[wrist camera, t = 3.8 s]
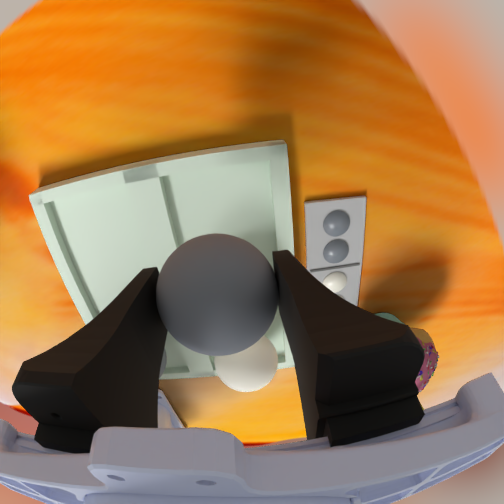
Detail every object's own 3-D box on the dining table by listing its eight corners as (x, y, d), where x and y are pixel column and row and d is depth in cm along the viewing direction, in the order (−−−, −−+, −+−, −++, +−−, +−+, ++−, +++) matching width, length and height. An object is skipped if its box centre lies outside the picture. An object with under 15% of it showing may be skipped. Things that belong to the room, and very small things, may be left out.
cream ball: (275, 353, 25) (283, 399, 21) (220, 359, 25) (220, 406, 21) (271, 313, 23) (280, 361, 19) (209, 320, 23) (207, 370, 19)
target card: (354, 312, 24) (356, 315, 24) (306, 320, 24) (307, 324, 24) (364, 195, 19) (366, 198, 19) (304, 201, 19) (305, 204, 19)
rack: (295, 354, 26) (297, 366, 25) (122, 369, 26) (119, 380, 25) (283, 139, 17) (286, 144, 16) (38, 188, 17) (28, 195, 16)
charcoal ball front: (274, 295, 15) (289, 372, 11) (179, 307, 15) (168, 384, 11) (266, 205, 13) (283, 271, 9) (154, 222, 13) (125, 291, 9)
